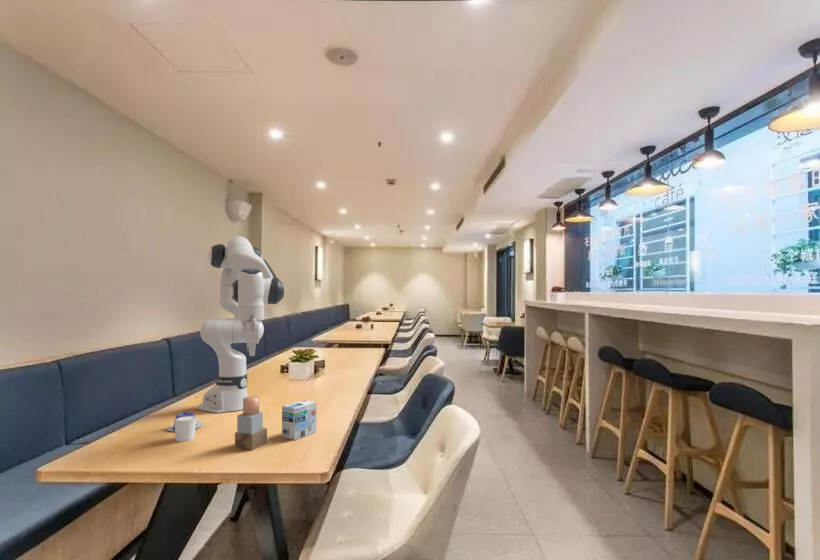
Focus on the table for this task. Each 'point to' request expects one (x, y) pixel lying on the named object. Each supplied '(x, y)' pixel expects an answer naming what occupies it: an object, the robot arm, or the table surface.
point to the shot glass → (185, 428)
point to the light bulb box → (299, 419)
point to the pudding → (183, 416)
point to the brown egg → (250, 405)
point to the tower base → (251, 440)
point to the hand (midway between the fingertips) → (250, 353)
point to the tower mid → (249, 423)
